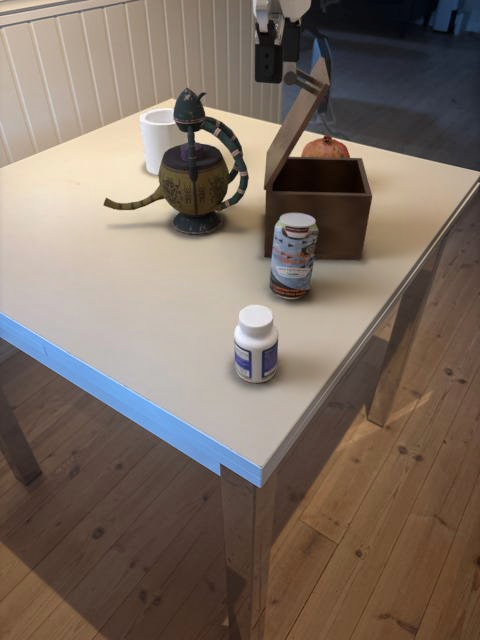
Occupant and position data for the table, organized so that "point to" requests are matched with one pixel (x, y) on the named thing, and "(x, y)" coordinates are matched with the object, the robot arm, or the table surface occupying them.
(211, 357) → the table surface
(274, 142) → the lid
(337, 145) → the fruit
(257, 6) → the robot arm
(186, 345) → the table surface
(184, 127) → the teapot
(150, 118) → the mug
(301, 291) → the beverage can
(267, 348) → the pill bottle
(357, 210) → the chest
